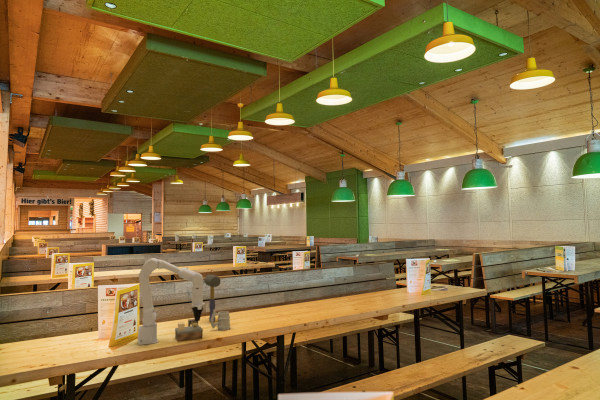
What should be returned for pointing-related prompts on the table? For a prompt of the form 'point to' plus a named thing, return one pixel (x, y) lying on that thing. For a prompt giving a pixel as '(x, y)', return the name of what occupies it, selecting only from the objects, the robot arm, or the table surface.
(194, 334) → the toolbox
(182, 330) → the lid
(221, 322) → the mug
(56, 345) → the table surface
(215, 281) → the rubber mallet
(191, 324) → the latch bar
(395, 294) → the table surface
